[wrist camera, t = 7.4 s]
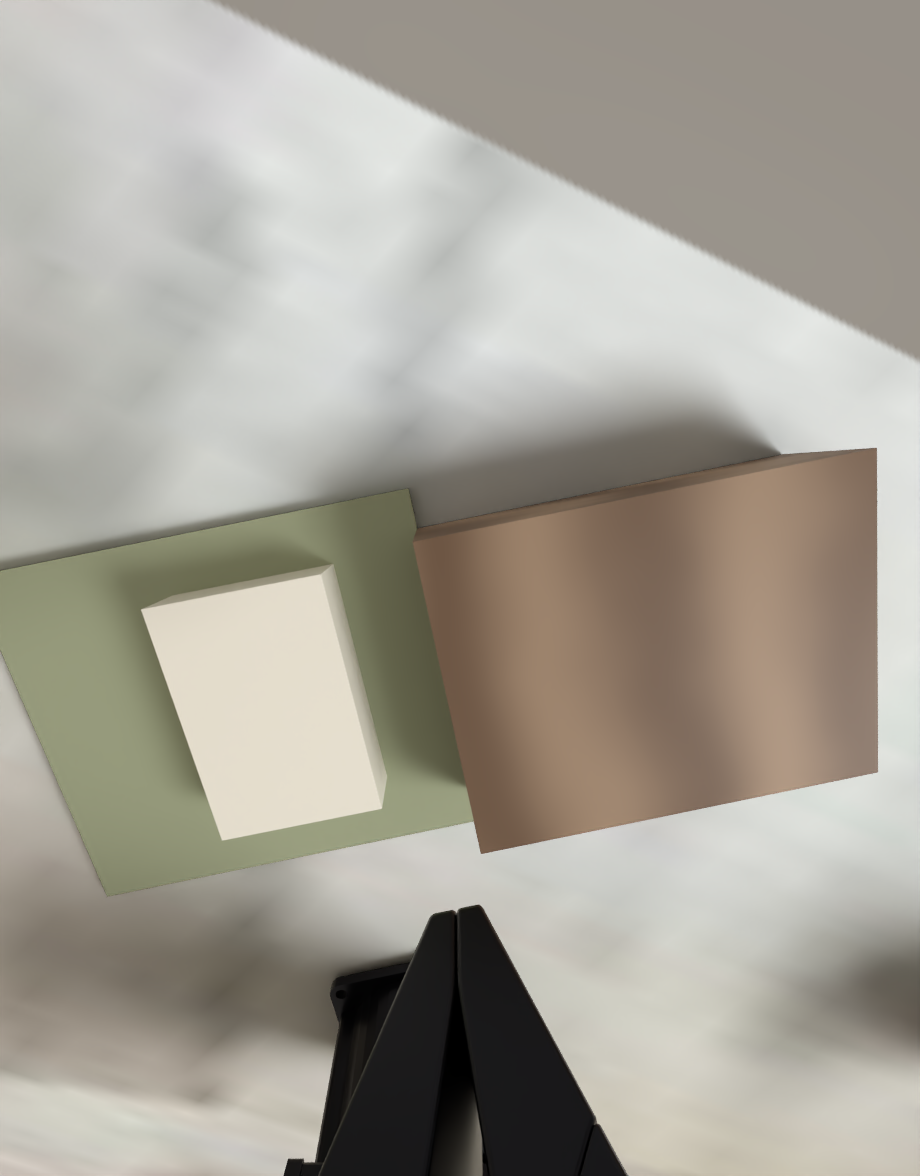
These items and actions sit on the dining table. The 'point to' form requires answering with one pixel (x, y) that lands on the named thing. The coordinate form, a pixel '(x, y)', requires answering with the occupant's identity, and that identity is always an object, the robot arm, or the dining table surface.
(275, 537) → the mat
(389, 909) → the dining table surface
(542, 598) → the brown flat block
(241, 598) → the cream chamfered block
